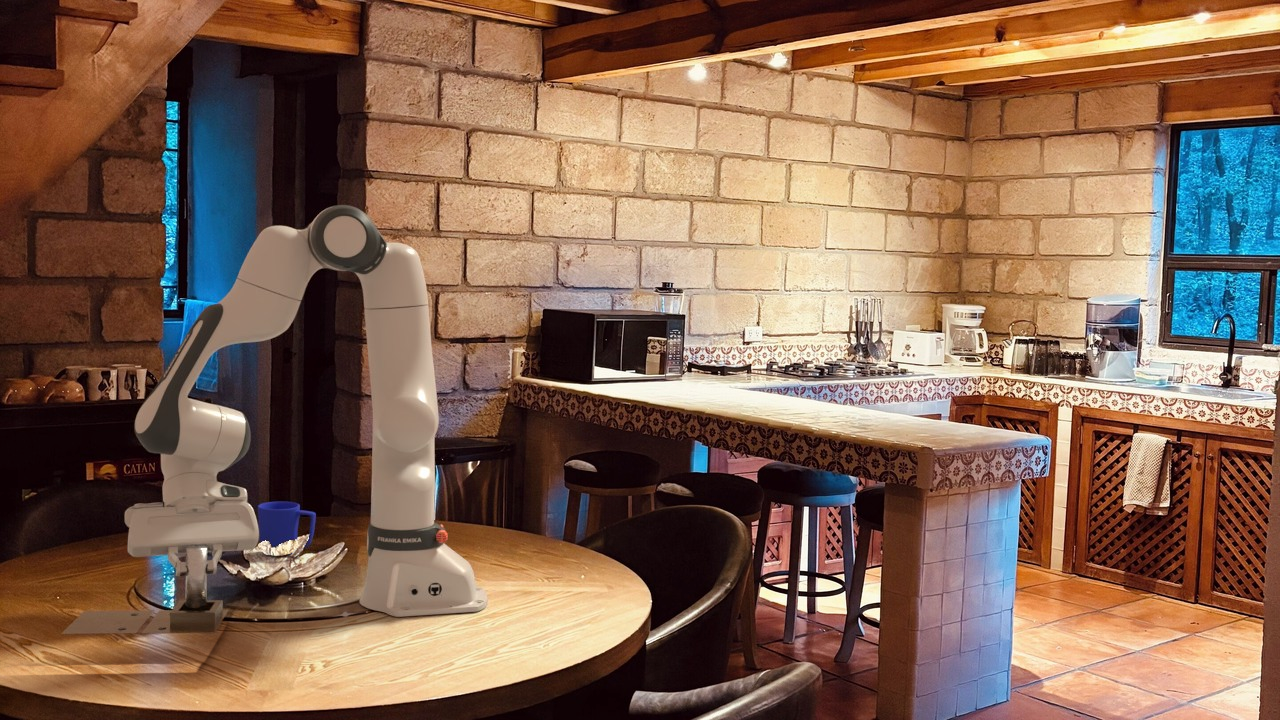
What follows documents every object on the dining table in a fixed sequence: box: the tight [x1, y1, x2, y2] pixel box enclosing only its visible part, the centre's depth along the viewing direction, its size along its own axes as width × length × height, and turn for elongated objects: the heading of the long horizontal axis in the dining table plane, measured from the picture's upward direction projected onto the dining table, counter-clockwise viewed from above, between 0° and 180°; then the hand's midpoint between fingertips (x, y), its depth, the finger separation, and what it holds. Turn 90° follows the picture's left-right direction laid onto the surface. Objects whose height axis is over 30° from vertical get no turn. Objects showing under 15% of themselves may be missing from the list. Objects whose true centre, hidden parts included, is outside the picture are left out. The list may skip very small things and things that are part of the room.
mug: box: [257, 501, 317, 549], centre depth 239 cm, size 8×12×10 cm
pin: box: [184, 546, 208, 608], centre depth 191 cm, size 3×3×9 cm
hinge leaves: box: [60, 599, 229, 635], centre depth 190 cm, size 23×12×4 cm, turn 99°
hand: (196, 573), depth 190 cm, fingers closed on pin, 3 cm apart
